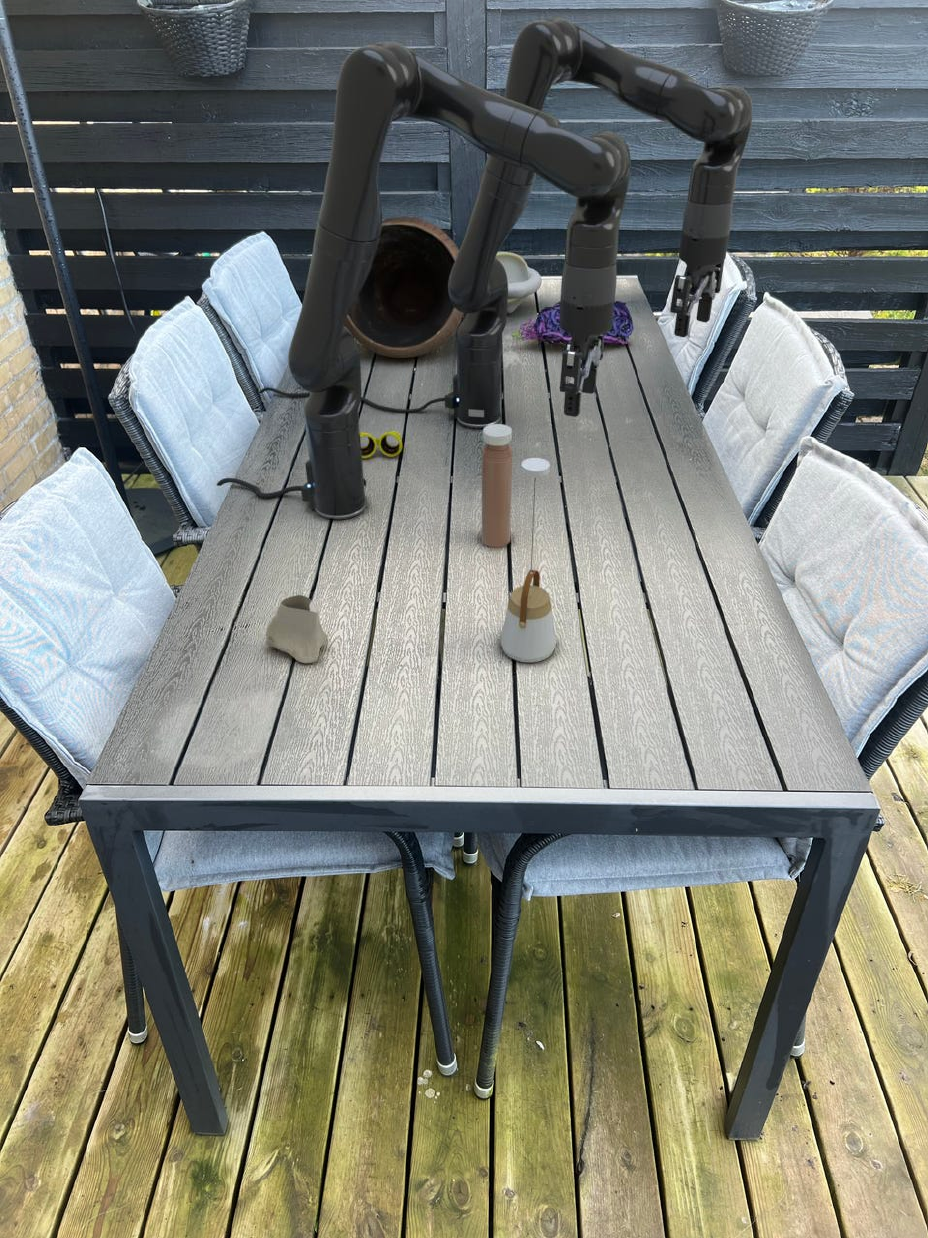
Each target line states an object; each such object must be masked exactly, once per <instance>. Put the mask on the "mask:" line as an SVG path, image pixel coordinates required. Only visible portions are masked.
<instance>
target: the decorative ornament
mask: <svg viewBox="0 0 928 1238" xmlns="http://www.w3.org/2000/svg"><path fill="white" fill-rule="evenodd" d="M559 317H560V301H558V302H556V303H555V304H554V305H553V306H545V307H544V308H542V309H541V310H540V311H539V312H538V317H536V319H535V321H534V322H532V317H529V318H528V321H526V322H524V323H523V324H520V326H519V329H517V330H516V331H514V332H512V333H511V334H510V335H511V337H512V339H513V340H516V341H518V340H519V341H521V342H523V341H526V342H525V344H526V343H528V341H530V343H531V342H533V341H536V342H538V344H537V346H538V347H540V345H542V343H547V344H548V345H550V346H560V344H562V345H564V346H565V345H568V343H569V342H571V339H572V336H571V335H570V334H569V333H567V332H565V331H563V330H562V329H561V328H560V325H559ZM633 331H634V323H633V317H632V316H631V313H630V310H629V308H628V307H627V302H623V301H618V300H615V303H614V314H613V325H612V328H611V330H610V331H608V332H607V333H605V334H604V346H611V345H621V346H625V345H629V341H628V340H630V336H632V334H633ZM527 340H528V341H527Z"/></svg>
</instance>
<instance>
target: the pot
mask: <svg viewBox="0 0 928 1238" xmlns="http://www.w3.org/2000/svg"><path fill="white" fill-rule="evenodd" d="M459 250H460V249H459V248H458V246H457V244H455V242H454V241H453V239H452V238H451V237H450V236H448V235H447V233H445V232H444V231H443V230H442V229H441V228H439V227H438V226H436V225H435V224H433V223H431V222H429V221H427V220H424V219H422V218H418V217H415V216H414V217H413V216H408V215H407V216H392V217H386V218H382V227H381V232H380V237H379V241H378V245H377V249H376V254H375V258H374V261H373V264H372V267H371V270H370V272H369V274H368V276H367V279H366V281H365V283H364V285H363V287H362V289H361V290H360V292H359V294H358V296H357V298H356V299H355V301H354V303H353V305H352V307H351V309H350V311H349V313H348V315H347V317H346V320H345V323H344V327H346V328H347V329H348V330H349V331H350V332H351V334H352V335H353V337H354V339H355V341H356V342H357V343H360V345H362V346H363V347H364V348H366V349H367V350H368V351H371V352H372V353H376V354H377V355H380V356H383V357H387V358H392V359H393V358H394V359H409V358H416V357H421V356H423V355H426V354H429V353H431V352H434V351H435V350H437V349H439V348H440V347H441V346H443V345H444V344H446V342H447V341H448V340H449V339H450V338H451V337H452V336H453V335H454V333H456V331H457V327H458V325H459V324H460V323H461V321H462V320H463V318H464V314H465V313H462V312H459V311H458V310H456V309H455V308H454V306H453V305H452V303H451V301H450V298H449V295H448V280H449V276H450V273H451V270H452V267H453V265H454V262H455V260H456V257H457V255H458V253H459Z"/></svg>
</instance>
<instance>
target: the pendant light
mask: <svg viewBox="0 0 928 1238" xmlns="http://www.w3.org/2000/svg"><path fill="white" fill-rule="evenodd" d="M550 467H551V464H550V462H549V461H548V460H547V459H545V458H540V457H529V458H526V459H524V460H523V461H522V462H521V467H520V468H521V469H520V470H521V473H522V474H523V475H524V476H527V477H530V478H534V480H533V481H534V483H533V504H532V505H533V507H532V529H531V555H530V558H531V559H530V569H529V570H528V572H527V573H526V576H525V579H524V582H523V585H521V586H519V587H516V588H515V589H513V591H511V594H510V596H509V600H508V602H507V607H506V612H505V617H504V620H503V625H502V631H501V635H500V639H499V640H500V645H501V648H502V651H503V652H504V654H505V655H506V656H507V657H508V658H510V659H512V660H514V661H517V662H521V663H537V662H541V661H543V660H546V659H547V658H549V657H550V656H551V655H552V654H553V652H554V651H555V648H556V645H557V637H556V629H555V623H554V622H555V621H554V614H553V608H552V601H551V598H550V594H549V592H548V591H547V590H546V589H545V588H543V587H540V586H541V585H540V584H541V583H540V582H541V578H540V577H541V575H540V572H539V570H537V569H533V550H534V549H533V548H534V527H535V526H534V525H535V507H536V506H535V504H536V503H535V502H536V483H537V481H536V480H537V478H542V477H545V476H547V475H549V474H550Z"/></svg>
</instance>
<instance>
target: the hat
mask: <svg viewBox="0 0 928 1238" xmlns="http://www.w3.org/2000/svg"><path fill="white" fill-rule="evenodd" d="M495 258H496V259H498V260H499V261H500V262H501V264H502V265H503V267H504V269H505V271H506V274H507V279H508V302H507V314H512V313H514V311H516V309H517V308H518V307H519V306H520V305H522V303H524V302H525V301H526V300H527V299H528V297H529V296H531V295H533V294H535V293H536V292H538V291H539V290H540V288H541V286H542V282H543V280H542V276H541V274H539V273H540V272H538V271H537V270H535V269H533V268H532V267H529V266H528V264H527V262H526V260H525V259H524V258H523V257H522V256H520V255H519V254H517V253H514V252H509V251H498V253H497V255H496V257H495Z"/></svg>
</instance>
